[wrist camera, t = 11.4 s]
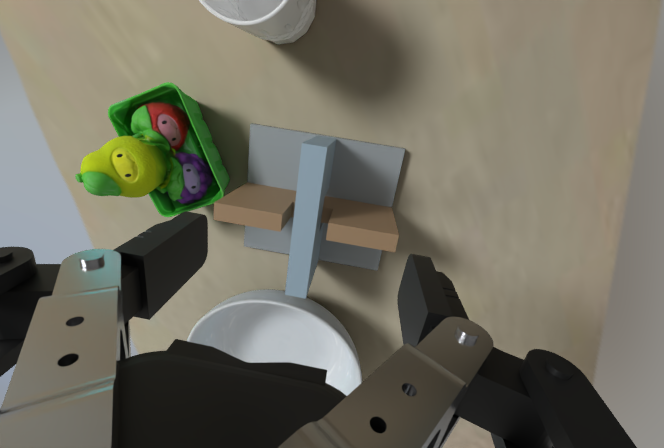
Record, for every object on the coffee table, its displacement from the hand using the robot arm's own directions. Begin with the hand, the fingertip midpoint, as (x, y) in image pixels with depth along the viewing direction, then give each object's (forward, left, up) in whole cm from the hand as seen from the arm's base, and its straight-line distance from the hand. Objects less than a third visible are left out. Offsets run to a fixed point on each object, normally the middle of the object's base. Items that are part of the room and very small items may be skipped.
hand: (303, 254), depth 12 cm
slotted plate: (+4, -2, -22) cm, 22 cm away
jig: (+4, -2, -22) cm, 23 cm away
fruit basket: (+1, -17, -23) cm, 28 cm away
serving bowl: (+24, -4, -23) cm, 34 cm away
